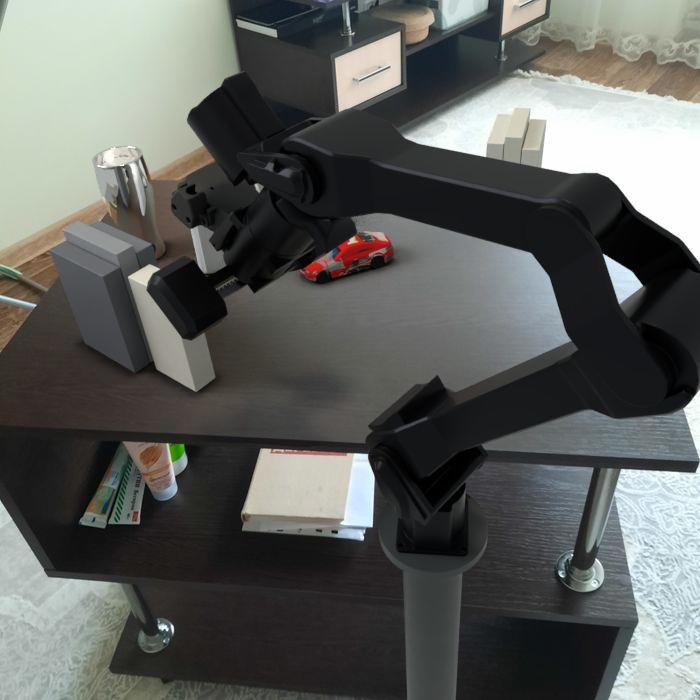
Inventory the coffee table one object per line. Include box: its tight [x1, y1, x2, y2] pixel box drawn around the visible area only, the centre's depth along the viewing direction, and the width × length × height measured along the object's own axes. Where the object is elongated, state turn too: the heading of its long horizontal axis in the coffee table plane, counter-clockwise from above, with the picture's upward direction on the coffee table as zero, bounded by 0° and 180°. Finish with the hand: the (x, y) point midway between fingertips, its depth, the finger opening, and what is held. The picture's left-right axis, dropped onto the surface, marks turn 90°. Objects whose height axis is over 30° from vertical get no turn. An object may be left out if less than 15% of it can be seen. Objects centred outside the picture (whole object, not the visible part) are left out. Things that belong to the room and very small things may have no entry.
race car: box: [299, 231, 395, 284], centre depth 98 cm, size 13×5×4 cm, turn 111°
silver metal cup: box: [91, 145, 167, 260], centre depth 101 cm, size 7×7×15 cm
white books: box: [485, 107, 547, 168], centre depth 102 cm, size 10×7×14 cm
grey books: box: [49, 219, 159, 374], centre depth 85 cm, size 10×7×15 cm
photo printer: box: [190, 183, 261, 275], centre depth 99 cm, size 10×4×12 cm, turn 117°
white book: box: [128, 264, 216, 393], centre depth 80 cm, size 7×3×13 cm, turn 51°
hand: (221, 295), depth 72 cm, fingers open, 9 cm apart
